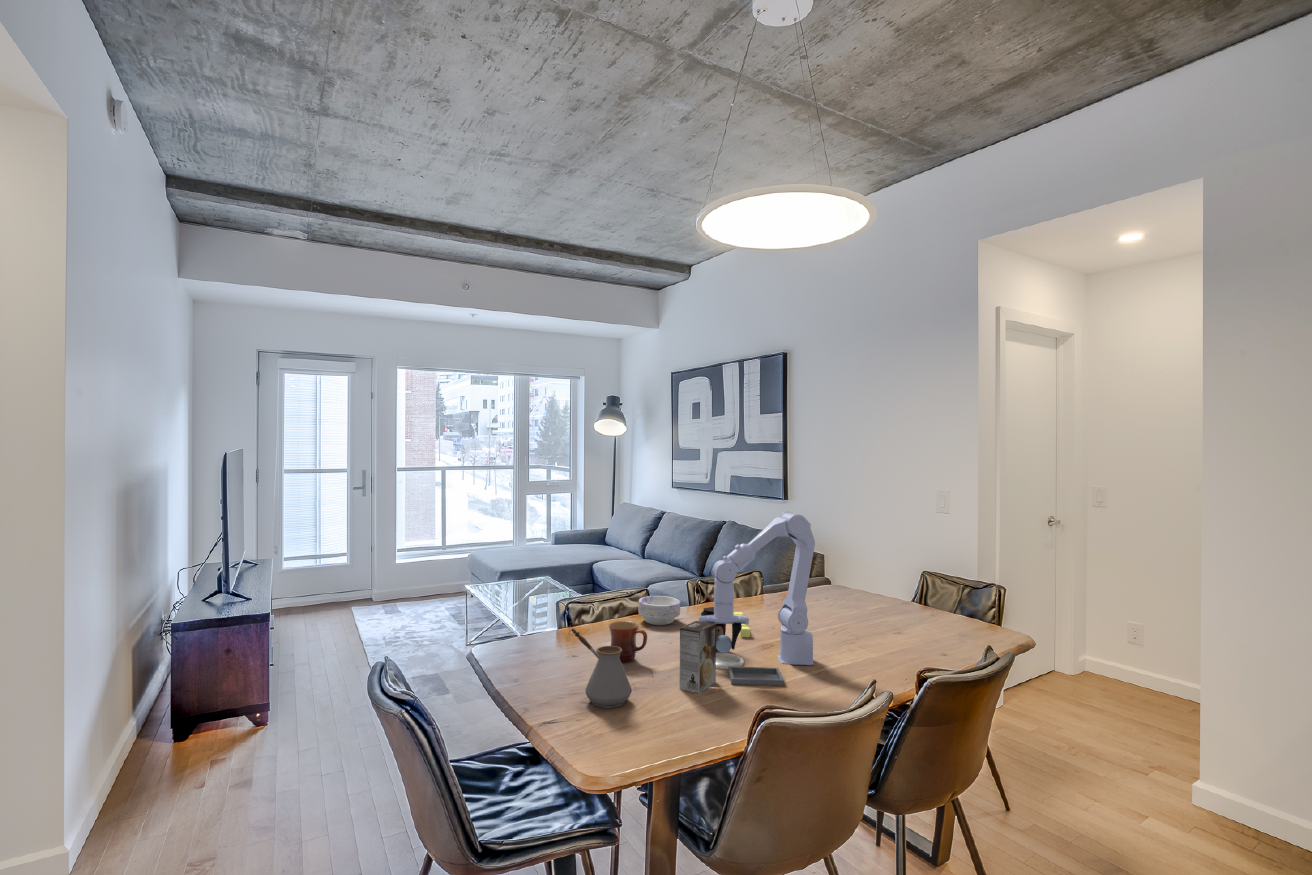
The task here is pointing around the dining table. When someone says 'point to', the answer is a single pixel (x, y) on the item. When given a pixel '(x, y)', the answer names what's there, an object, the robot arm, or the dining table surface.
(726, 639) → the ball
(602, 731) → the dining table surface
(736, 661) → the saucer
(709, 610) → the coffee cup
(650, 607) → the paper bowls
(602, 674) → the coffee pot
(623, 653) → the mug
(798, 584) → the robot arm
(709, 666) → the coffee box
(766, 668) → the tray
